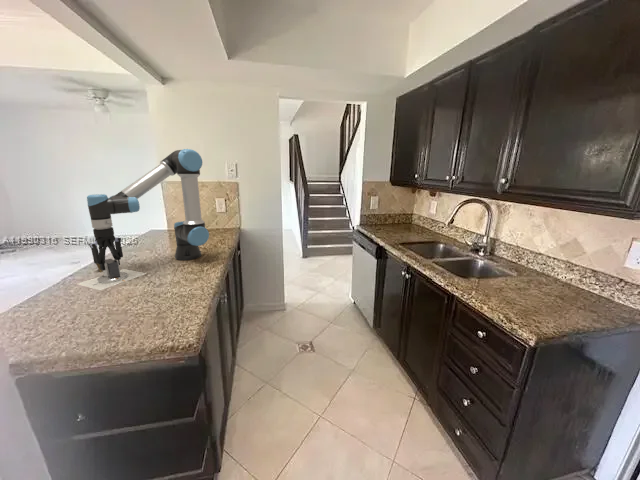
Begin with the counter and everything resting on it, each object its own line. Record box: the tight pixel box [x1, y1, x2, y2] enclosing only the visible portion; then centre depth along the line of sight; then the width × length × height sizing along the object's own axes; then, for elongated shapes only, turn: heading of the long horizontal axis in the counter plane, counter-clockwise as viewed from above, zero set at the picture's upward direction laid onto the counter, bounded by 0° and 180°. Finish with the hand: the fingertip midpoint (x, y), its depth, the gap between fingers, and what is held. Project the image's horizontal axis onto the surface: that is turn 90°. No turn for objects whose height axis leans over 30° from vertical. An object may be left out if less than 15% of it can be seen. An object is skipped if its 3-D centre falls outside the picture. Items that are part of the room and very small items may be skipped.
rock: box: [95, 264, 103, 273], centre depth 146 cm, size 11×9×10 cm
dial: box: [97, 258, 128, 283], centre depth 132 cm, size 12×12×9 cm
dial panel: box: [76, 268, 147, 291], centre depth 133 cm, size 22×18×2 cm
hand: (112, 274), depth 133 cm, fingers closed on dial, 5 cm apart
